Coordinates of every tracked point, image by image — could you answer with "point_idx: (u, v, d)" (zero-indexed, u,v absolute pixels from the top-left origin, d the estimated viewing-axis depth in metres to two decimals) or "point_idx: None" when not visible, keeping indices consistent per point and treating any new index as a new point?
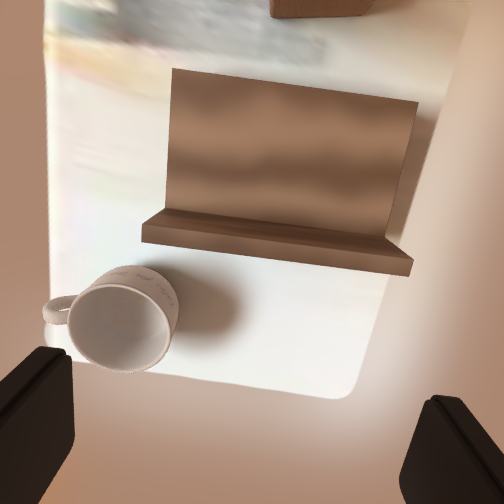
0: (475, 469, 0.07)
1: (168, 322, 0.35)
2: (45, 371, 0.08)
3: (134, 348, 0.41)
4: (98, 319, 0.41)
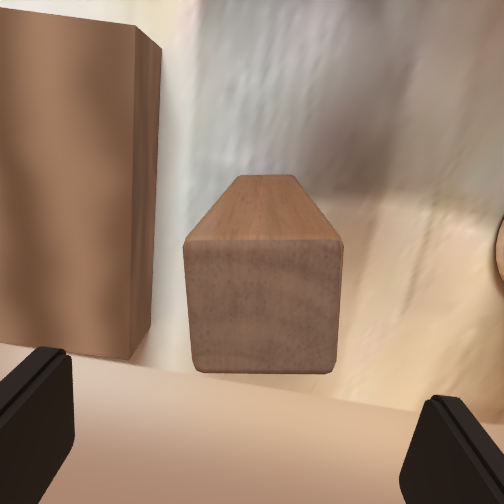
0: (475, 469, 0.07)
1: None
2: (45, 371, 0.08)
3: None
4: None
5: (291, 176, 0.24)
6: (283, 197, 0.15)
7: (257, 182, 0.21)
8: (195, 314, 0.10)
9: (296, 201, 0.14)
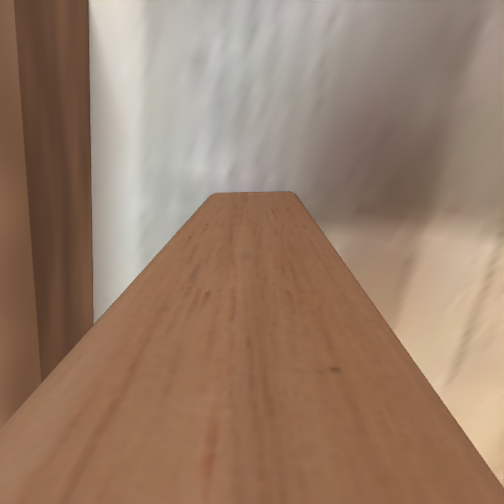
0: None
1: None
2: None
3: None
4: None
5: (292, 195, 0.16)
6: (287, 269, 0.07)
7: (237, 210, 0.13)
8: None
9: (322, 293, 0.06)
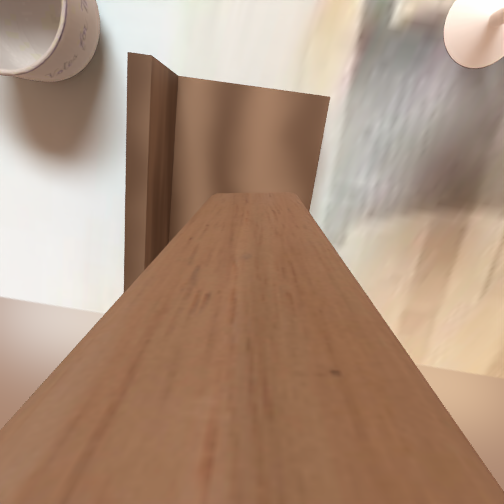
0: None
1: (21, 72, 0.26)
2: None
3: None
4: None
5: (293, 196, 0.16)
6: (288, 270, 0.07)
7: (238, 211, 0.13)
8: None
9: (323, 294, 0.06)
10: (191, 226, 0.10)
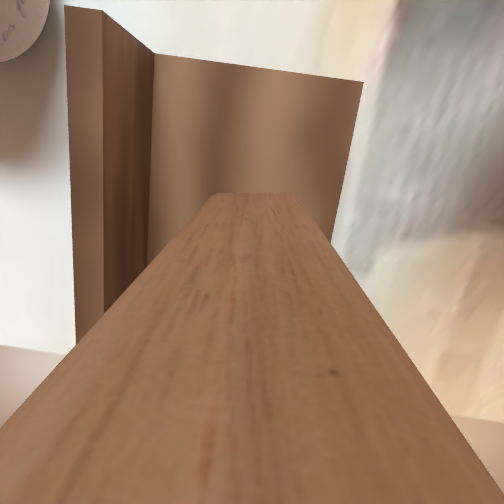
0: None
1: None
2: None
3: None
4: None
5: (293, 196, 0.16)
6: (287, 270, 0.07)
7: (238, 211, 0.13)
8: None
9: (322, 295, 0.06)
10: (191, 226, 0.10)
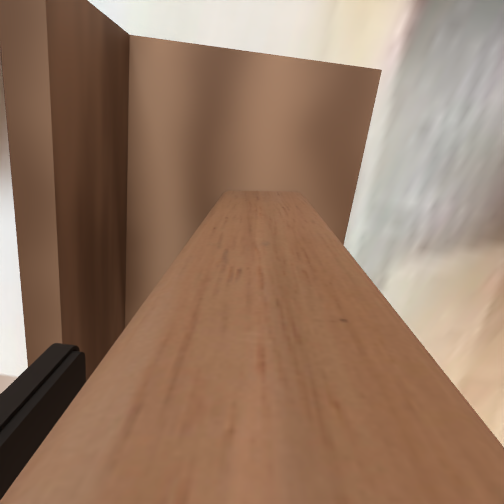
0: None
1: None
2: (61, 367, 0.08)
3: None
4: None
5: (299, 195, 0.17)
6: (302, 255, 0.08)
7: (251, 207, 0.14)
8: None
9: (332, 272, 0.07)
10: (212, 218, 0.12)
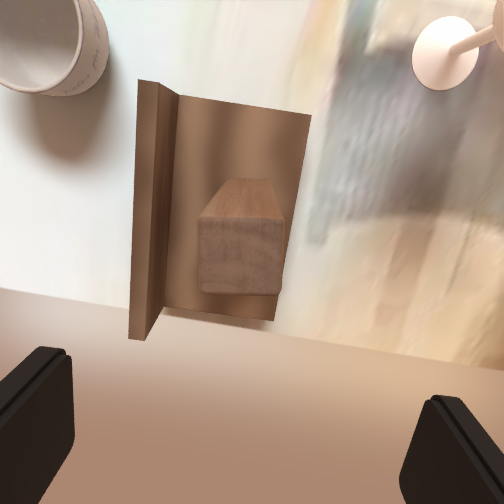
0: (475, 469, 0.07)
1: (41, 90, 0.30)
2: (45, 371, 0.08)
3: None
4: None
5: (268, 180, 0.33)
6: (257, 195, 0.23)
7: (241, 184, 0.29)
8: (202, 258, 0.18)
9: (265, 198, 0.22)
10: (224, 187, 0.27)
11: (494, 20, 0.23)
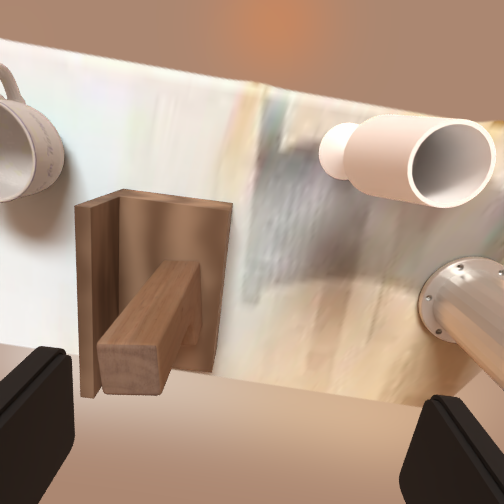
0: (475, 469, 0.07)
1: (5, 201, 0.37)
2: (45, 371, 0.08)
3: None
4: None
5: (194, 264, 0.39)
6: (163, 301, 0.30)
7: (166, 275, 0.36)
8: (101, 371, 0.25)
9: (165, 307, 0.29)
10: (147, 284, 0.34)
11: (343, 165, 0.30)
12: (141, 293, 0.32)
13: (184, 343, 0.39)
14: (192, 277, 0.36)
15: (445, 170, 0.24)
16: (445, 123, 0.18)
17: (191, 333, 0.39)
